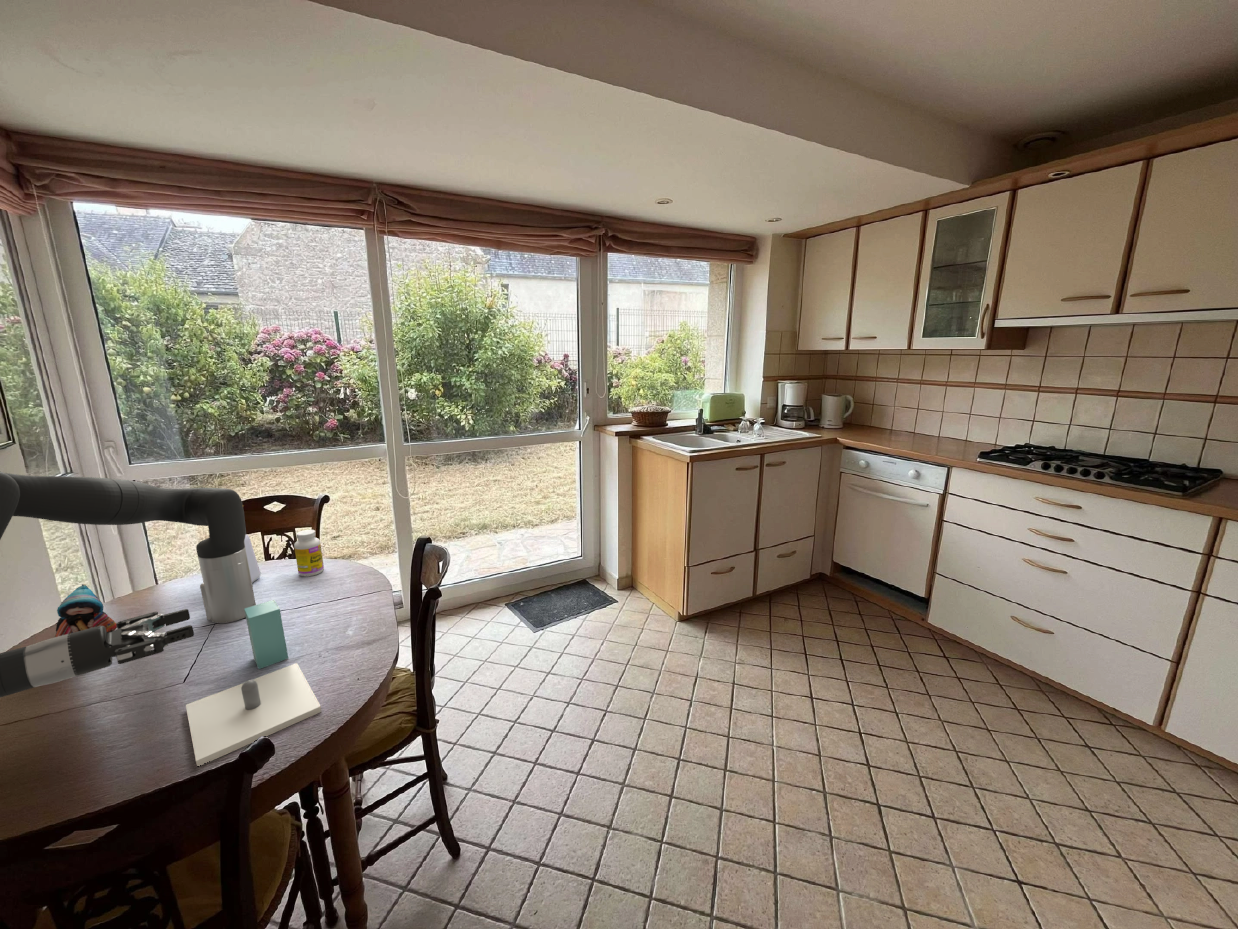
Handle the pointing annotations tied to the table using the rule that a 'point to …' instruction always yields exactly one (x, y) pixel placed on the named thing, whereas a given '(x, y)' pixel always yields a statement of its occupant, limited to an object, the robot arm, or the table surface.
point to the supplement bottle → (308, 553)
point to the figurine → (82, 613)
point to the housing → (266, 633)
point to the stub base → (249, 712)
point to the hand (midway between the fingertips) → (191, 621)
